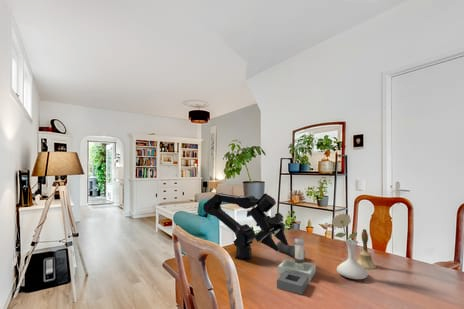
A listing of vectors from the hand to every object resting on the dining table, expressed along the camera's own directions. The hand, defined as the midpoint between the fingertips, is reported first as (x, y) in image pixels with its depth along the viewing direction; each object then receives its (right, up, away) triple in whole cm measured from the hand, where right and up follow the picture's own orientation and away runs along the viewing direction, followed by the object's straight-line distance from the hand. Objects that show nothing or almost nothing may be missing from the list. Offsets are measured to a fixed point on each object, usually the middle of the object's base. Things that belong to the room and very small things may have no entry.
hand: (282, 247), depth 107 cm
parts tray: (+5, -9, -4) cm, 11 cm away
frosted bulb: (+6, -8, -5) cm, 11 cm away
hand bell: (+38, -10, +4) cm, 39 cm away
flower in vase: (+26, -9, -6) cm, 28 cm away
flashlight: (+7, -10, +16) cm, 20 cm away
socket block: (0, -8, -16) cm, 18 cm away
